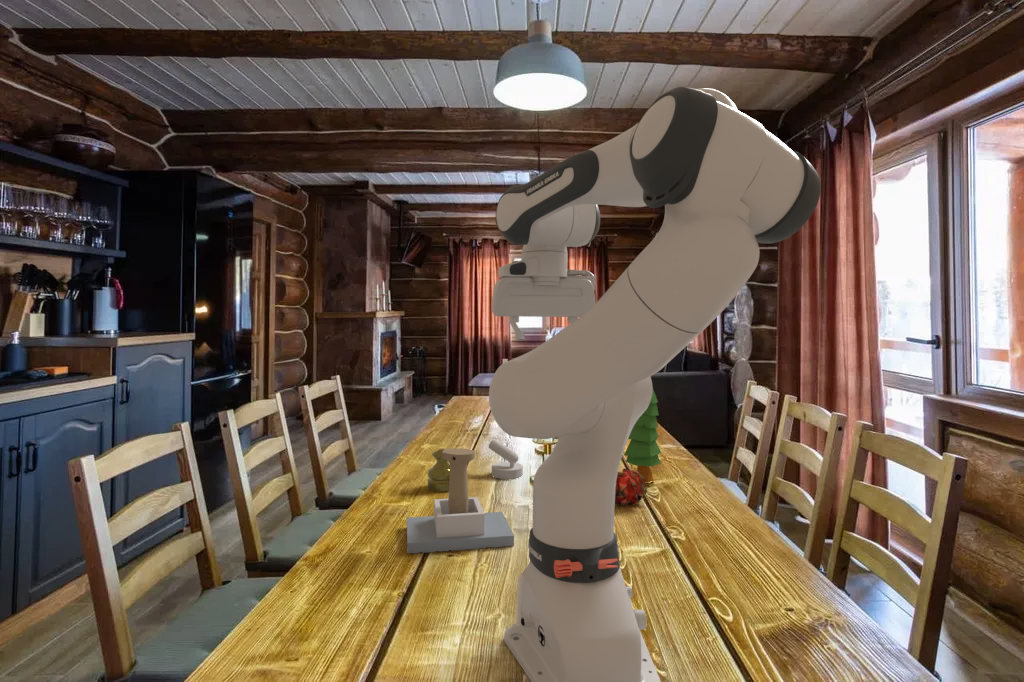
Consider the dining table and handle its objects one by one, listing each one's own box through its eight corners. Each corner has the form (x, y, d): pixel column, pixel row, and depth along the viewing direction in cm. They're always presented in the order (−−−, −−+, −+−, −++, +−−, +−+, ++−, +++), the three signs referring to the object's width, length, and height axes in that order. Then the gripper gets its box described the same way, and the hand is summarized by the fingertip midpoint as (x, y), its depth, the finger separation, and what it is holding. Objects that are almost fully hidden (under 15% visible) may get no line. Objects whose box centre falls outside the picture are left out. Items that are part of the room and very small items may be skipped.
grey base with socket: (514, 545, 104) (514, 514, 104) (407, 553, 100) (407, 521, 100) (501, 520, 117) (502, 493, 117) (406, 527, 113) (406, 498, 113)
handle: (469, 532, 105) (469, 455, 105) (438, 528, 107) (438, 453, 107) (477, 523, 110) (478, 449, 109) (448, 519, 112) (448, 447, 111)
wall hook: (498, 435, 158) (528, 439, 152) (498, 468, 158) (528, 473, 153) (481, 441, 150) (512, 446, 145) (481, 475, 151) (512, 481, 145)
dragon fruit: (638, 501, 135) (622, 524, 124) (610, 478, 137) (592, 498, 127) (657, 478, 131) (643, 500, 121) (629, 455, 134) (612, 474, 123)
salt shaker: (460, 490, 137) (460, 451, 137) (431, 494, 135) (431, 453, 134) (452, 482, 144) (452, 444, 144) (424, 485, 141) (424, 447, 141)
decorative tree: (663, 486, 142) (665, 371, 141) (627, 486, 142) (629, 371, 141) (654, 475, 152) (656, 368, 150) (620, 475, 152) (622, 367, 150)
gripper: (590, 271, 110) (589, 340, 111) (490, 269, 106) (489, 340, 107) (601, 268, 104) (600, 341, 105) (495, 266, 100) (495, 341, 101)
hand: (543, 340), depth 106 cm, fingers open, 8 cm apart
